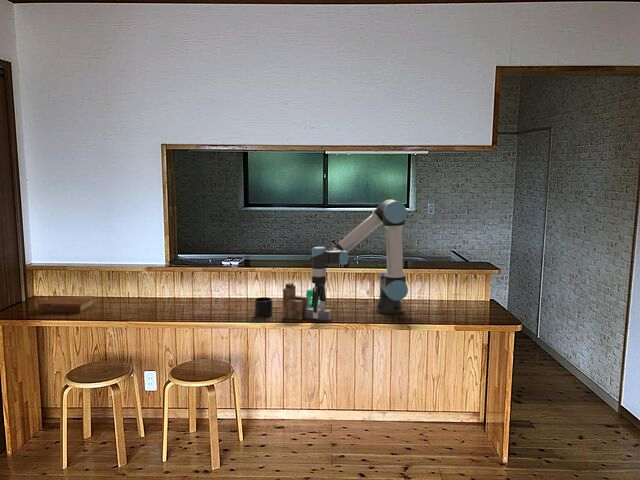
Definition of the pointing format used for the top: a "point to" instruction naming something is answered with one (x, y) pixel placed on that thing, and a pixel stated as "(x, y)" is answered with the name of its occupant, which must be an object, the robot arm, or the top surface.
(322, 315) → the rail
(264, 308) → the mug
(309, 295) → the camera mount
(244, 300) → the top surface
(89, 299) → the diary
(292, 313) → the brown wooden block stack
